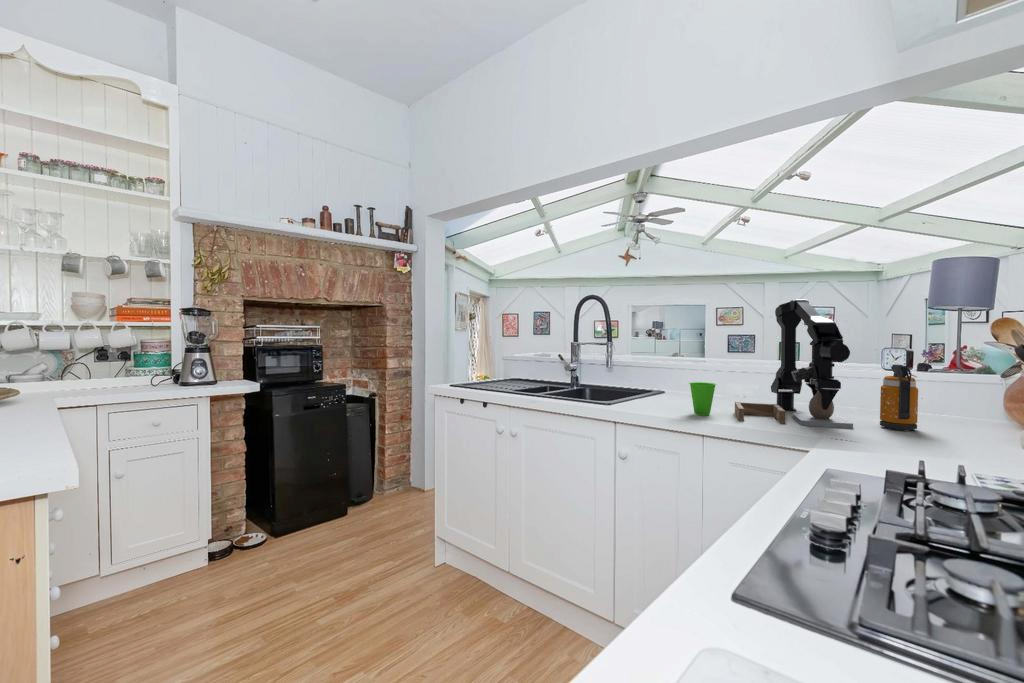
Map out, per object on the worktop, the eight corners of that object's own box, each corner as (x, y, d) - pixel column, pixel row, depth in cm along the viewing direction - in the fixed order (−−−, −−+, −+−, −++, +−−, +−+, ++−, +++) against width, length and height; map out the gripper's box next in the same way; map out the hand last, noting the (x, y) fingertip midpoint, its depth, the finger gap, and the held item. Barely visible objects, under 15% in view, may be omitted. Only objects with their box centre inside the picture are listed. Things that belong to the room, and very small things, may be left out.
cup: (711, 412, 173) (711, 382, 173) (719, 416, 164) (719, 385, 164) (685, 411, 174) (686, 381, 174) (692, 416, 165) (693, 384, 165)
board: (791, 417, 164) (791, 413, 164) (839, 420, 159) (839, 415, 159) (800, 425, 151) (800, 420, 151) (853, 428, 146) (853, 423, 146)
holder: (734, 412, 172) (734, 402, 172) (777, 415, 167) (777, 404, 167) (738, 420, 158) (739, 408, 158) (785, 423, 153) (785, 411, 153)
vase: (830, 416, 157) (830, 390, 157) (836, 420, 150) (837, 393, 150) (806, 415, 159) (806, 389, 159) (811, 419, 153) (812, 392, 152)
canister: (911, 427, 148) (913, 363, 148) (924, 434, 138) (926, 366, 138) (876, 424, 152) (877, 362, 152) (886, 431, 142) (888, 364, 141)
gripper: (788, 357, 166) (787, 401, 166) (800, 360, 148) (799, 410, 149) (825, 358, 162) (824, 403, 163) (842, 362, 145) (840, 412, 145)
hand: (820, 407), depth 155 cm, fingers open, 9 cm apart
